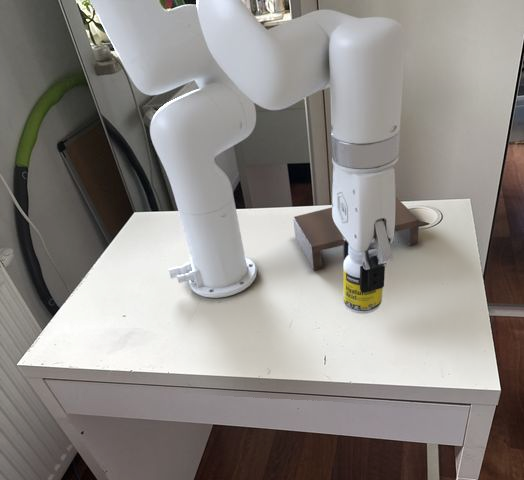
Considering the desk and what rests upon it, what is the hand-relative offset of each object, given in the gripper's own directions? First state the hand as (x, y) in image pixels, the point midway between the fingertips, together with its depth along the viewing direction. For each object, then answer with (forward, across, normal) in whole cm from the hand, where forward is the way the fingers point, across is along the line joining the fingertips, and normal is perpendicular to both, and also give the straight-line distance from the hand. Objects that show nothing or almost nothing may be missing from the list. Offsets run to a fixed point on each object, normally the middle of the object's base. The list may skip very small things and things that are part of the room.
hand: (363, 275), depth 72 cm
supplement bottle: (+5, 0, 0) cm, 5 cm away
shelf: (+12, -26, +9) cm, 30 cm away
